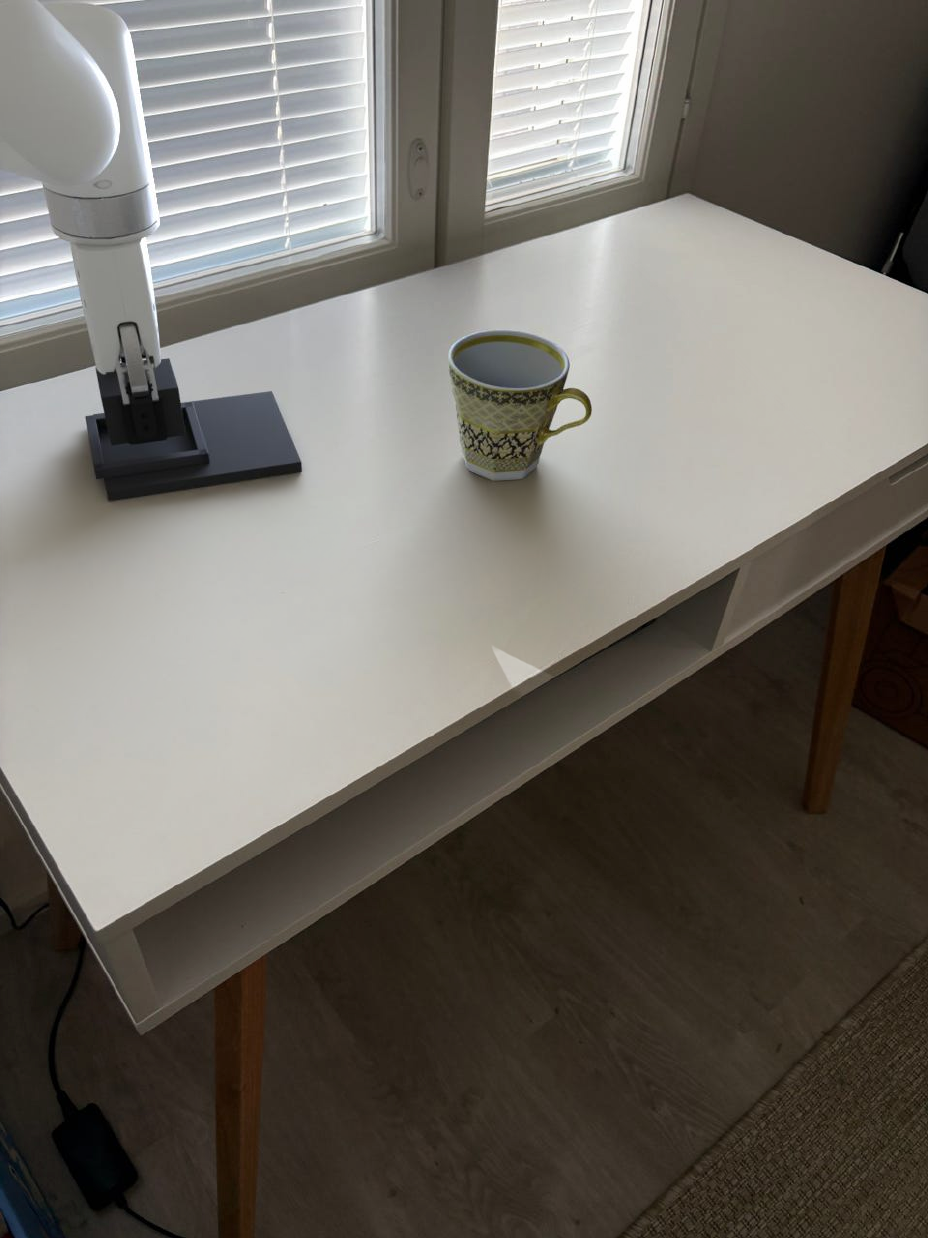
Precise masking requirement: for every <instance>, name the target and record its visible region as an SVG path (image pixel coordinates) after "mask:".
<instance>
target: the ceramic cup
mask: <svg viewBox="0 0 928 1238" xmlns="http://www.w3.org/2000/svg"><path fill="white" fill-rule="evenodd" d="M447 362H448V371H449V379H450V380H449V381H450V387H451V392H452V396H453V400H454V404H455V412H456V420H457V427H458V434H459V435H458V436H459V444H460V451H461V455H462V457H463V460H464V463H465V466H466V469H467V470H468V471H469V472H472V473H474V474H476V475H479V476H480V477H483V478H485V479H488V480H490V481H494V482H495V481H512V480H514V481H515V480H523V479H524V478H525V477H526V476H528V475H529V474H530V473H531V472H532V471H534V470H535V469H536V468H537V466H538V465H539V462H540V458H541V455H542V451H543V448H544V446H545V442H547V440H549V438H551V437H554V436H555V437H556V436H558V435H560V433H562V432H564V431H566V430H569V429H573V428H576V427H579V426H581V425H584V424H585V423H586V422H587V421H588V420H589V419H591V416H592V411H593V409H592V403H591V400H590V398H589V396H588V395H587V393H585V392H584V391H583V390H581V389H579V388H576V387H567V388H565V385H566V382H567V378H568V375H569V371H570V366H571V365H570V359H569V357H568V355H567V353H566V352H565V351H564V349H562V348H561V347H560V346H559V345H558V344H557V343H555V342H553V341H552V340H550V339H547V338H545V337H543V336H540V335H537V334H534V333H531V332H527V331H521V330H514V329H490V330H482V331H477V332H473V333H470V334H468V335H466V336H463V337H461V338H460V339H458V340H457V341H456V342H454V343H453V344H452V346H451V347H450V349H449V351H448V355H447ZM568 399H573V400H576V401H578V402H580V403H581V405H582V406H584V409H585V415H584V417H582V418H581V419H578V420H575V421H572V422H568V423H566V424H563V425H561V426H560V427H558V428H557V429H551V425H552V422H553V419H554V417H555V414H556V411H557V408H558V405H559V404H560V403H561V402H562V401H563V400H568Z"/></svg>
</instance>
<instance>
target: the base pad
mask: <svg viewBox="0 0 928 1238" xmlns="http://www.w3.org/2000/svg"><path fill="white" fill-rule="evenodd" d="M181 408H182V415H183V421H184V427H185V435H182V436H175V437H168V438H167V439H166V440H163V441H156V442H149V443H142V444H135V445H131V444H129V443H125V444H118V445H111V441H110V437H109V432H108V428H107V423H106V419H105V414H104V412H100V413H93V414H91V415H90V414H89V415H85V416H84V417H85V424H86V428H87V436H88V442H89V443H88V444H89V448H90V449H89V450H90V455H91V461H92V467H93V472H94V477H95V480H103V482H104V487H105V493H106V497H107V501H108V502H112V501H120V500H126V499H132V498H139V497H144V496H145V497H146V496H150V495H151V496H152V495H157V494H164V493H170V492H171V493H172V492H177V491H178V492H179V491H185V490H190V489H197V488H203V487H211V486H216V485H223V484H230V483H236V482H241V481H250V480H256V479H261V478H262V479H263V478H269V477H275V476H281V475H282V476H283V475H288V474H294V473H295V474H296V473H301V472H303V467H302V466H303V465H302V460H301V458H300V456H299V453H298V451H297V448H296V445H295V444H294V441H293V439H292V435H291V434H290V431H289V429H288V426H287V424H286V422H285V419H284V417H283V414H282V412H281V409H280V407H279V405H278V402H277V400H276V398H275V395H274V393H273V391H272V390H269V391H268V390H267V391H261V392H253V393H246V394H239V395H231V396H223V397H222V396H221V397H215V398H208V399H201V400H192V401H184V402H181Z"/></svg>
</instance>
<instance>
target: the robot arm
mask: <svg viewBox="0 0 928 1238" xmlns="http://www.w3.org/2000/svg"><path fill="white" fill-rule="evenodd" d="M146 131H147V130H146V125H145V118H144V112H143V105H142V99H141V92H140V86H139V78H138V71H137V65H136V57H135V52H134V46H133V41H132V35H131V32H130V30H129V28H128V25H127V24H126V22H125V20H124V19H123V18H122V16H120V15H119V14H118V13H117V12H115V11H114V10H112V9H110V8H108V7H104V6H101V5H98V4H93V3H87V2H79V1H78V2H77V1H76V2H75V1H59V2H47V3H41V2H40V1H39V0H0V170H3V171H6V172H10V173H12V174H16V175H19V176H22V177H26V178H29V179H32V180H35V181H38V182H41V184H42V185H41V186H42V189H43V193H44V197H45V202H46V205H47V211H48V215H49V220H50V224H51V230H52V232H53V234H54V235H55V236H57V237H58V238H59V239H61V240H63V241H66V242H68V243H70V251H71V257H72V262H73V263H72V264H73V267H74V268H73V269H74V272H75V278H76V282H77V287H78V292H79V296H80V301H81V305H82V311H83V315H84V319H85V323H86V328H87V332H88V337H89V342H90V347H91V350H92V355H93V361H94V363H95V370H96V369H97V370H98V371H99V372H100V373H102V374H106V372H114V370H115V369H116V372H117V375H118V380H119V385H120V390H121V395H122V399H119V401H120V406H121V411H122V416H123V421H124V426H125V431H126V436H127V440H128V443H129V444H131V445H135V444H142V443H149V442H156V441H163V440H166V439H167V438H168V434H167V428H166V422H165V416H164V411H163V405H162V399H161V395H160V394H158V392H157V387H156V381H155V376H154V370H153V365H154V368H156V367H157V366H158V365H159V364H160V363H161V359H162V355H161V344H160V334H159V324H158V315H157V314H158V313H157V307H156V299H155V291H154V285H153V278H152V271H151V265H150V258H149V252H148V247H147V246H148V245H147V240H146V238H147V237H149V236H151V235H153V234H154V233H155V232H156V231H157V230H158V228H159V227H160V216H159V215H160V214H159V208H158V204H157V203H158V202H157V197H156V196H157V195H156V190H155V183H154V177H153V169H152V163H151V156H150V150H149V145H148V137H147V132H146ZM145 371H146V372H147V377H148V380H146V375H145ZM124 373H128V375H129V381H130V382H127V384H126V380H125V375H124Z"/></svg>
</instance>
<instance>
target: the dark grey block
mask: <svg viewBox="0 0 928 1238" xmlns="http://www.w3.org/2000/svg"><path fill="white" fill-rule="evenodd" d="M153 370H154V376H155V381H156V387H157V392H158V394H160V395H161V399H162V405H163V411H164V416H165V422H166V428H167V434H168V437H175V436H182V435H185V427H184V421H183V415H182V408H181V403H182V402H181V396H180V389H179V386H178V382H177V379H176V376H175V371H174V368H173V364H172V361H171V359H170V357H168V358H161V363H160V364H159V365H158V366H157V367H156V368H154V365H153ZM95 373H96V378H97V385H98V389H99V390H98V391H99V394H100V400H101V405H102V409H103V413H104V414H105V419H106V423H107V428H108V432H109V437H110V441H111V445H118V444H125V443H128V440H127V436H126V431H125V426H124V421H123V416H122V411H121V406H120V401H119V399H122V395H121V390H120V385H119V380H118V375H117V372H116V369H115V370H114V372H106V374H102V373H100V372H99V371H98V370H97V369H96V368H95ZM124 375H125V380H126V384H127V382H130V381H129V375H128V373H124ZM145 375H146V380H148V377H147V372H146V371H145Z"/></svg>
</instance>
